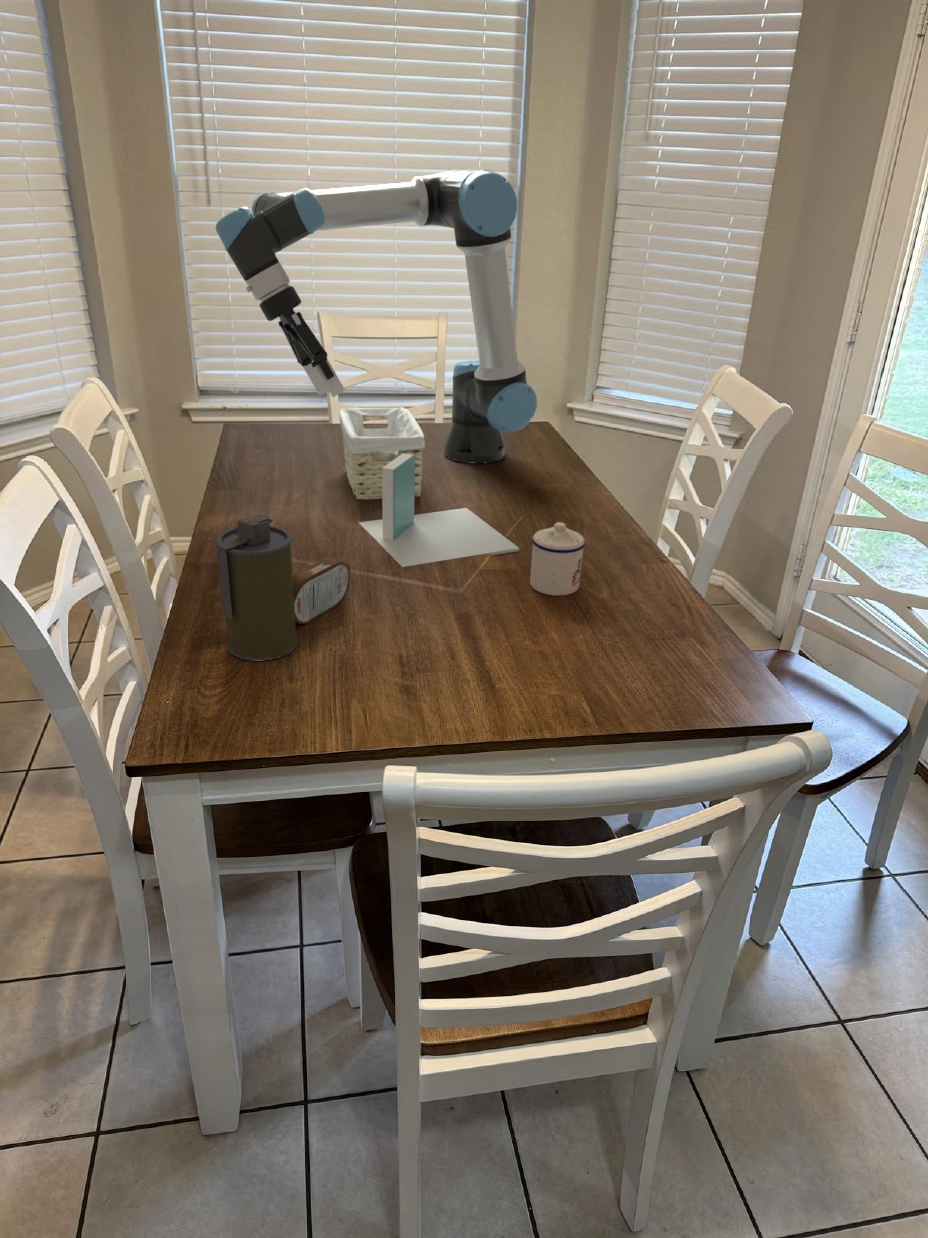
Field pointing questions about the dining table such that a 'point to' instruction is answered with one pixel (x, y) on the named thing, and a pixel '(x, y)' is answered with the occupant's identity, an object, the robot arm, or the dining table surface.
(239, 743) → the dining table surface
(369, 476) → the storage basket
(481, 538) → the mat
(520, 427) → the robot arm
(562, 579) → the teacup with lid
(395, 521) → the tile
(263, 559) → the canister
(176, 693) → the dining table surface
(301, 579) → the tin
